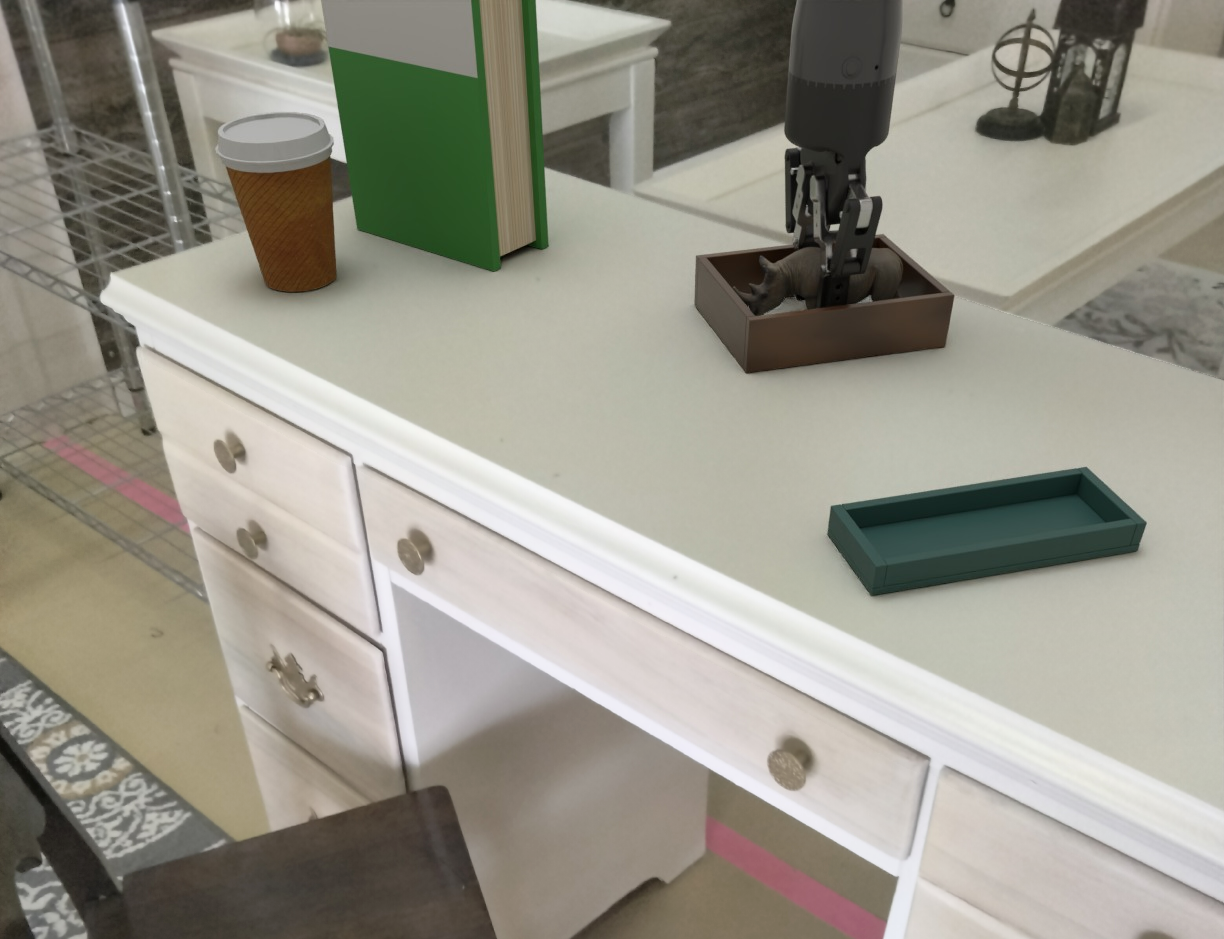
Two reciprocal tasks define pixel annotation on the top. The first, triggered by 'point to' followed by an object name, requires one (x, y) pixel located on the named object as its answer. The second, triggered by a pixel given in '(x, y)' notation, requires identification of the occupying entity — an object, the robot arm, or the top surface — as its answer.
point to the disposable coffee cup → (284, 195)
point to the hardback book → (442, 122)
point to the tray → (983, 529)
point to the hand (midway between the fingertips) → (817, 309)
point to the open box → (818, 314)
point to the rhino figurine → (804, 274)
